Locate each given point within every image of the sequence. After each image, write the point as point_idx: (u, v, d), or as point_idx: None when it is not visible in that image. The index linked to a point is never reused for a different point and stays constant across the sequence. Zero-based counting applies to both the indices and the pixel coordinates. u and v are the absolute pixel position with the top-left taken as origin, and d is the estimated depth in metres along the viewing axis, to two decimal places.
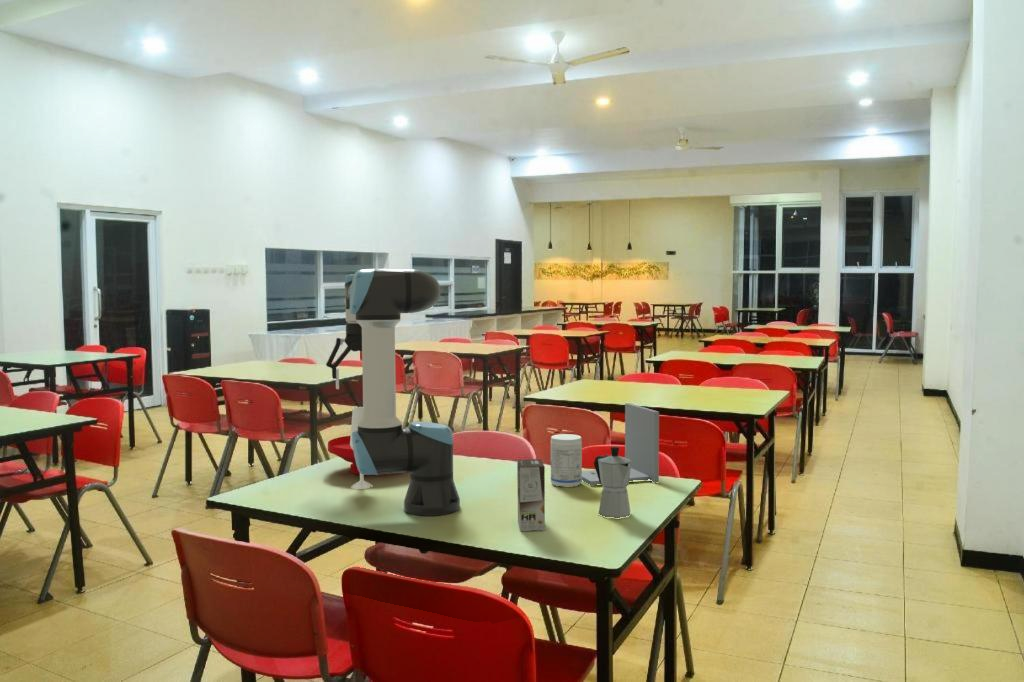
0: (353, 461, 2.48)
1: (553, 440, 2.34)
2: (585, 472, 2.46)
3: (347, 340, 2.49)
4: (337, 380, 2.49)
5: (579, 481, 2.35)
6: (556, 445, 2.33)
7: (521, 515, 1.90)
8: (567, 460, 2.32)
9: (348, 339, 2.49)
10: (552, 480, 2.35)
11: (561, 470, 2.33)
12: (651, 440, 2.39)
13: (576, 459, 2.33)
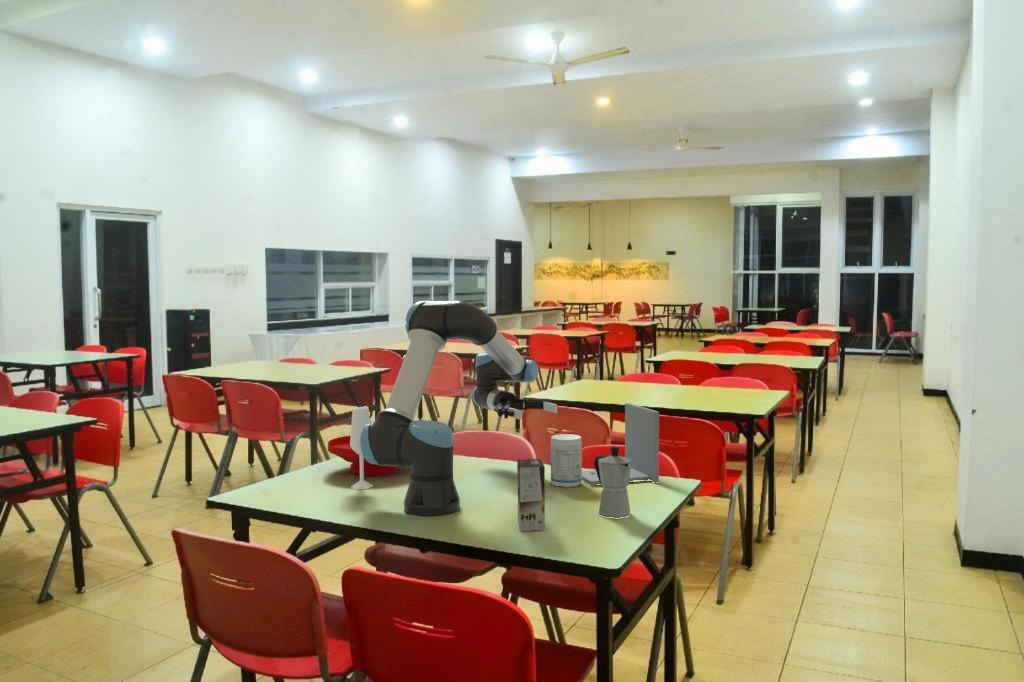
0: (353, 461, 2.48)
1: (553, 440, 2.34)
2: (585, 472, 2.46)
3: (503, 402, 2.56)
4: (515, 409, 2.44)
5: (579, 481, 2.35)
6: (556, 445, 2.33)
7: (521, 515, 1.90)
8: (567, 460, 2.32)
9: (503, 402, 2.56)
10: (552, 480, 2.35)
11: (561, 470, 2.33)
12: (651, 440, 2.39)
13: (576, 459, 2.33)
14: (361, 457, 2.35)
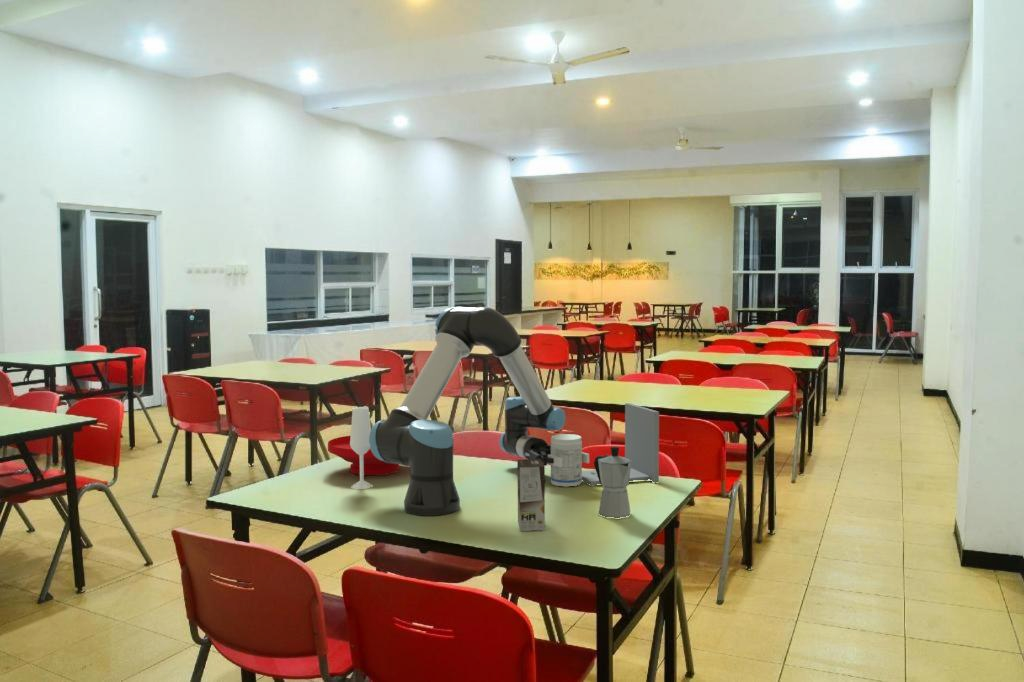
0: (353, 461, 2.48)
1: (553, 440, 2.34)
2: (585, 472, 2.46)
3: (534, 449, 2.45)
4: (555, 456, 2.33)
5: (579, 481, 2.35)
6: (556, 444, 2.33)
7: (521, 515, 1.90)
8: (567, 460, 2.32)
9: (534, 449, 2.46)
10: (552, 480, 2.35)
11: (561, 470, 2.33)
12: (651, 440, 2.39)
13: (576, 459, 2.33)
14: (361, 457, 2.35)
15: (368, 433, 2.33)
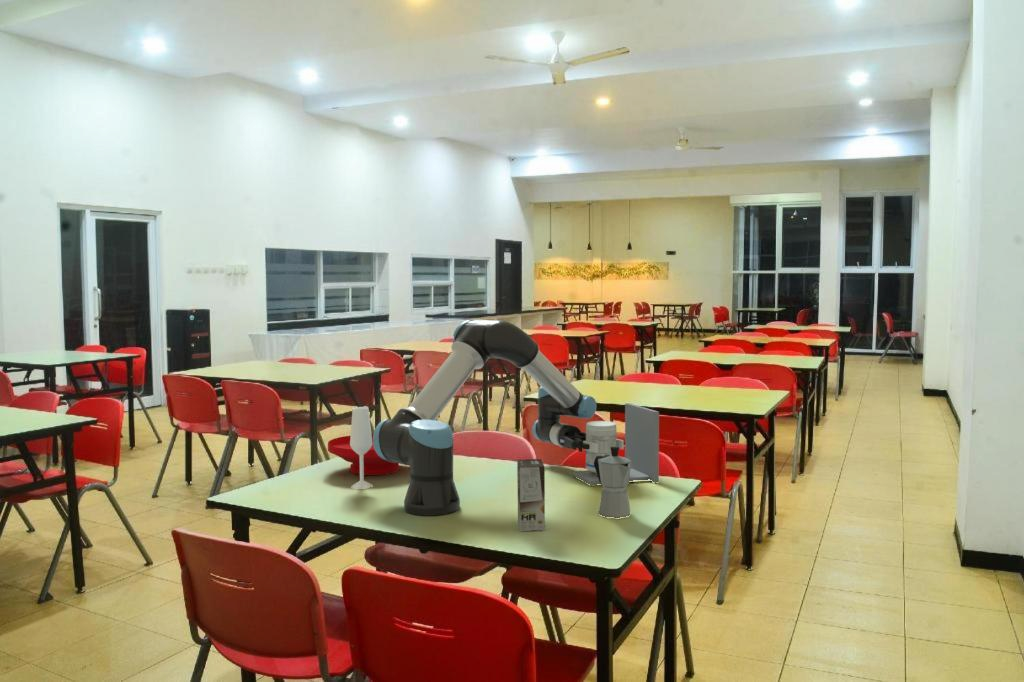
0: (353, 461, 2.48)
1: (589, 426, 2.40)
2: (585, 472, 2.46)
3: (568, 436, 2.51)
4: (591, 442, 2.38)
5: None
6: (591, 431, 2.39)
7: (521, 515, 1.90)
8: (602, 446, 2.38)
9: (568, 435, 2.51)
10: (587, 465, 2.41)
11: (596, 456, 2.38)
12: (651, 440, 2.39)
13: (611, 445, 2.39)
14: (361, 457, 2.35)
15: (368, 433, 2.33)
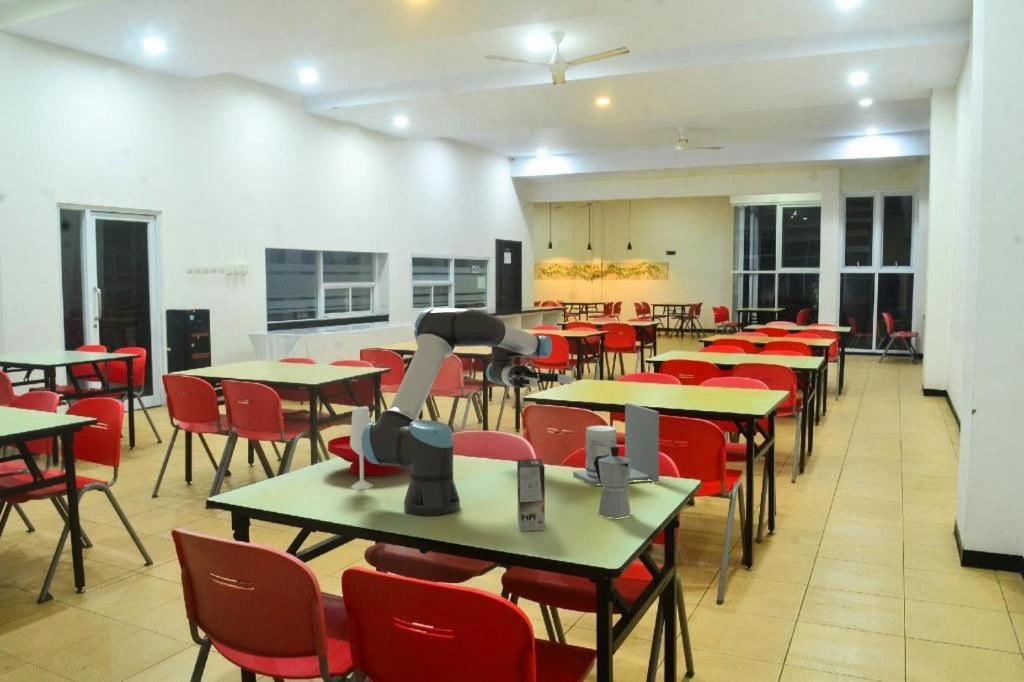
0: (353, 461, 2.48)
1: (589, 431, 2.40)
2: (585, 472, 2.46)
3: (517, 374, 2.60)
4: (531, 378, 2.48)
5: None
6: (591, 436, 2.39)
7: (521, 515, 1.90)
8: (602, 451, 2.38)
9: (518, 374, 2.61)
10: (587, 470, 2.41)
11: None
12: (651, 440, 2.39)
13: None
14: (361, 457, 2.35)
15: None
